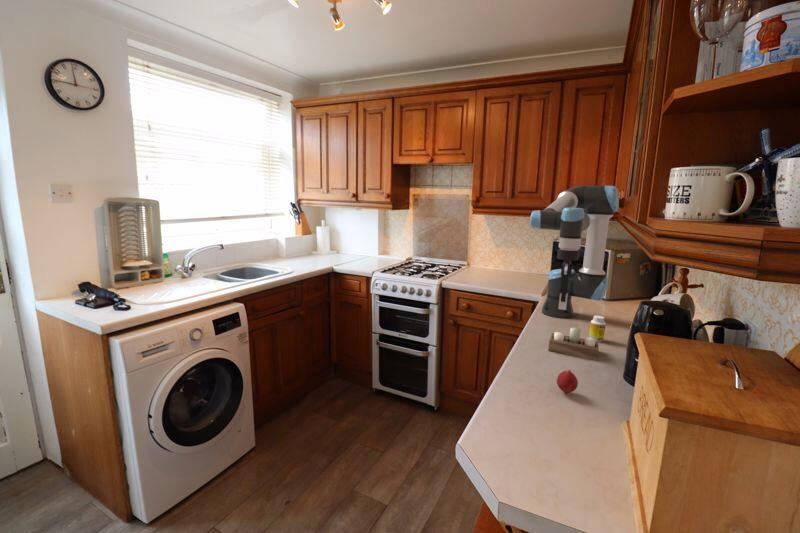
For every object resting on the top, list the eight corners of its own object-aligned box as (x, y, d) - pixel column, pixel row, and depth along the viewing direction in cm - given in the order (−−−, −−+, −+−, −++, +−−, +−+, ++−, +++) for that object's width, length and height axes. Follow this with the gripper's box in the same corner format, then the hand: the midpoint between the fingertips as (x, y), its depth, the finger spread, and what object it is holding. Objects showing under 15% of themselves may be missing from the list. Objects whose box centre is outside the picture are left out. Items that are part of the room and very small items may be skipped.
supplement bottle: (598, 343, 156) (601, 319, 154) (585, 339, 161) (588, 316, 159) (606, 340, 159) (609, 317, 157) (593, 336, 164) (596, 314, 162)
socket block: (551, 342, 156) (552, 333, 155) (597, 350, 148) (598, 341, 148) (548, 350, 147) (549, 341, 146) (597, 360, 140) (598, 350, 139)
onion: (551, 391, 116) (554, 367, 114) (562, 386, 119) (564, 363, 118) (569, 400, 111) (572, 375, 110) (580, 394, 115) (583, 370, 113)
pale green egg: (569, 339, 149) (570, 326, 148) (579, 341, 148) (580, 328, 147) (568, 342, 146) (570, 329, 145) (578, 344, 145) (580, 331, 144)
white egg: (583, 349, 147) (585, 336, 146) (593, 351, 146) (595, 338, 145) (583, 352, 144) (585, 339, 143) (593, 354, 143) (595, 341, 142)
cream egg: (553, 343, 152) (554, 331, 151) (563, 345, 151) (564, 333, 150) (552, 346, 149) (553, 334, 148) (562, 348, 148) (563, 335, 147)
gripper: (559, 246, 150) (553, 303, 154) (556, 250, 139) (550, 311, 143) (580, 247, 147) (573, 306, 151) (579, 252, 135) (571, 315, 140)
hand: (562, 308), depth 147 cm, fingers closed
